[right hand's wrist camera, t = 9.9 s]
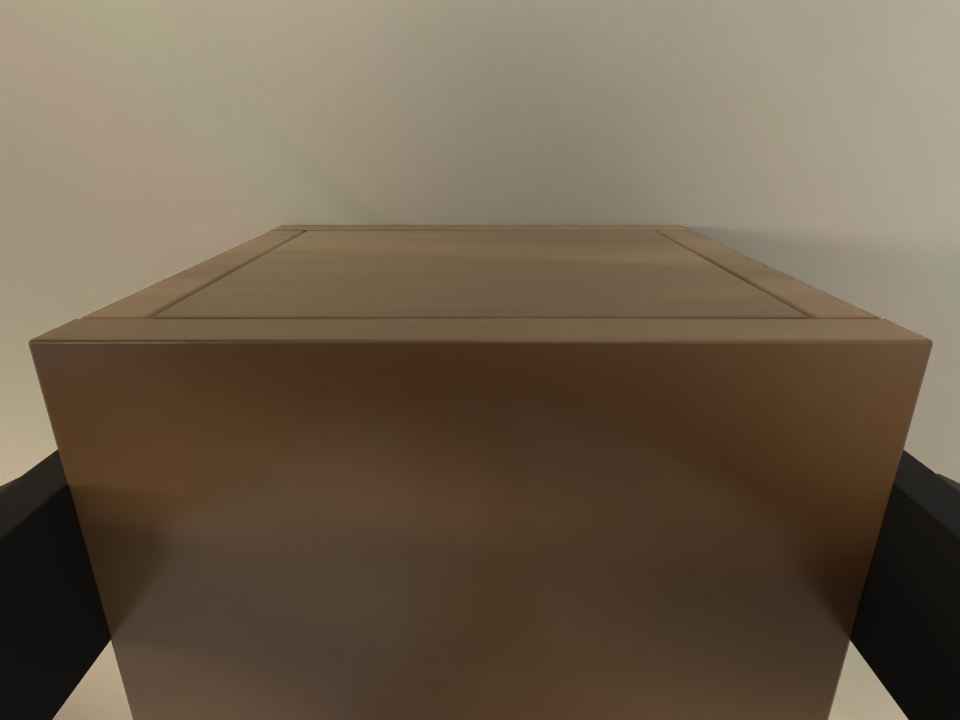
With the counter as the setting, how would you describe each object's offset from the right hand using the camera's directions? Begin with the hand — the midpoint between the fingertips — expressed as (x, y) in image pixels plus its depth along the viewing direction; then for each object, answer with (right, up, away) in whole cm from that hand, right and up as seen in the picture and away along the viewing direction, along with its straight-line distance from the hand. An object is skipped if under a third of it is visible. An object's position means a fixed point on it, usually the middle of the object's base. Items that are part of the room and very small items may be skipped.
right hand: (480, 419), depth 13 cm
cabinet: (0, -4, +7) cm, 8 cm away
